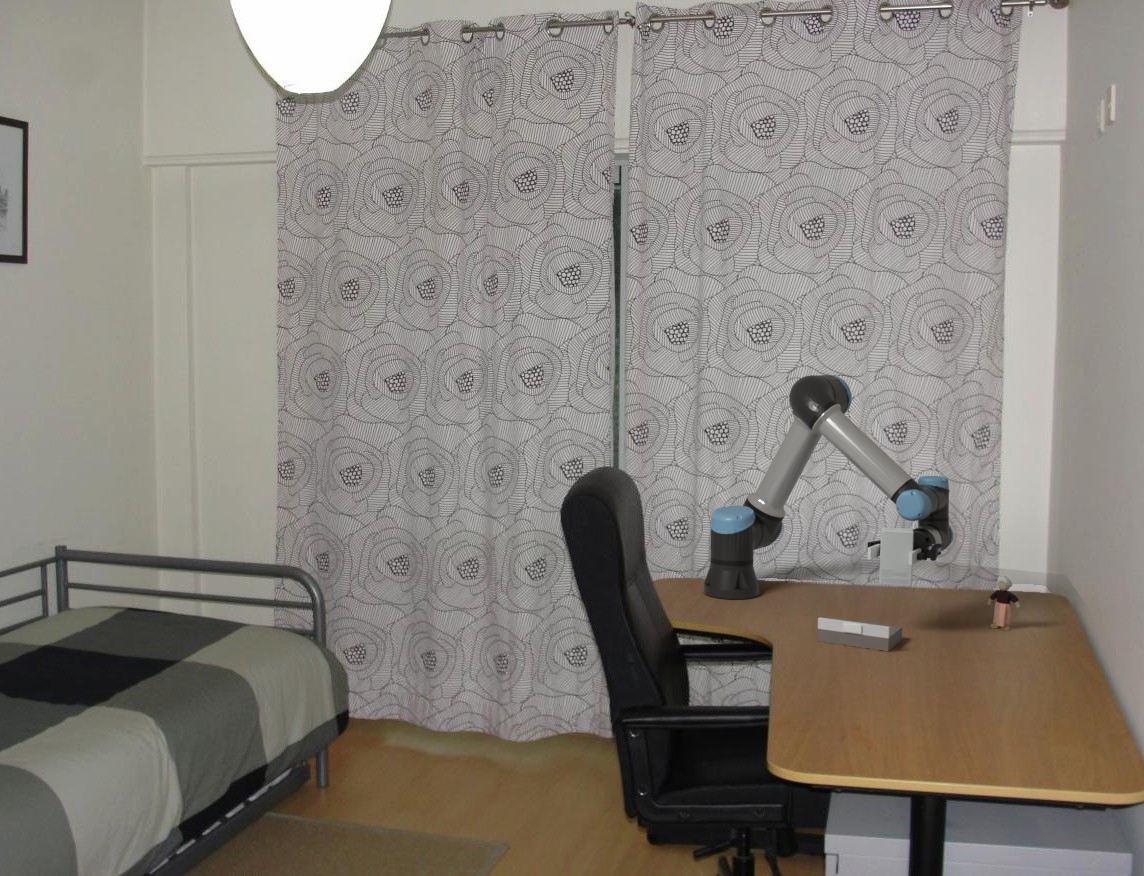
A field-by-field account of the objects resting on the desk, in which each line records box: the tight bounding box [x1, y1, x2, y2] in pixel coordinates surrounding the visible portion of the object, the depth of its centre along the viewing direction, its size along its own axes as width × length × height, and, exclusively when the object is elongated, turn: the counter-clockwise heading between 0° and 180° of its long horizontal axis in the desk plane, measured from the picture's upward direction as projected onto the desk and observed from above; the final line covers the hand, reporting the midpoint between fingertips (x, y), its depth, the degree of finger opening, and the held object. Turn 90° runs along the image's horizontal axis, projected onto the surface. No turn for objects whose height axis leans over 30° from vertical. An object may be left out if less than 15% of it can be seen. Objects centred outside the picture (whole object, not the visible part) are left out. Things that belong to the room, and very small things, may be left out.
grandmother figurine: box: [987, 575, 1022, 631], centre depth 261 cm, size 8×4×13 cm, turn 62°
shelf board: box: [817, 617, 903, 652], centre depth 248 cm, size 16×12×5 cm
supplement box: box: [878, 527, 914, 587], centre depth 255 cm, size 7×7×13 cm
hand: (889, 556), depth 251 cm, fingers closed on supplement box, 9 cm apart
